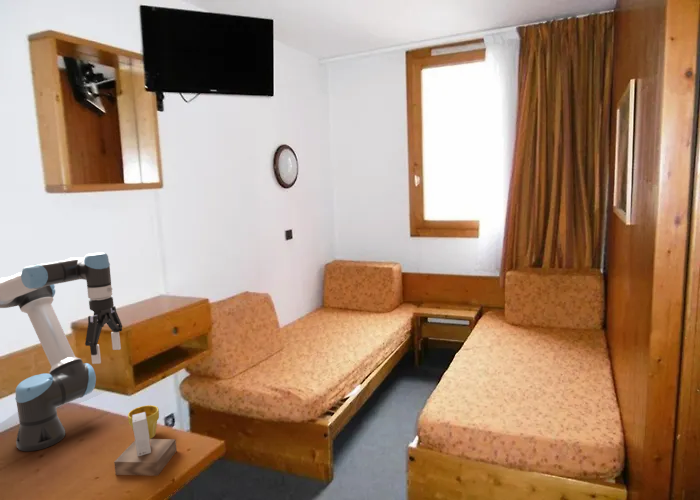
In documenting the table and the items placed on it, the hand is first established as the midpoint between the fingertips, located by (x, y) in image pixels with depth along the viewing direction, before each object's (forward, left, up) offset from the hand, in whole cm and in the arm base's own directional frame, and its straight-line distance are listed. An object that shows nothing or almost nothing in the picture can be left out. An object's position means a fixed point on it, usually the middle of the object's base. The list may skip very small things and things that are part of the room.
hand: (107, 356), depth 175 cm
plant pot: (+10, +2, -32) cm, 33 cm away
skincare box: (+18, -15, -27) cm, 36 cm away
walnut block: (+18, -15, -32) cm, 40 cm away
